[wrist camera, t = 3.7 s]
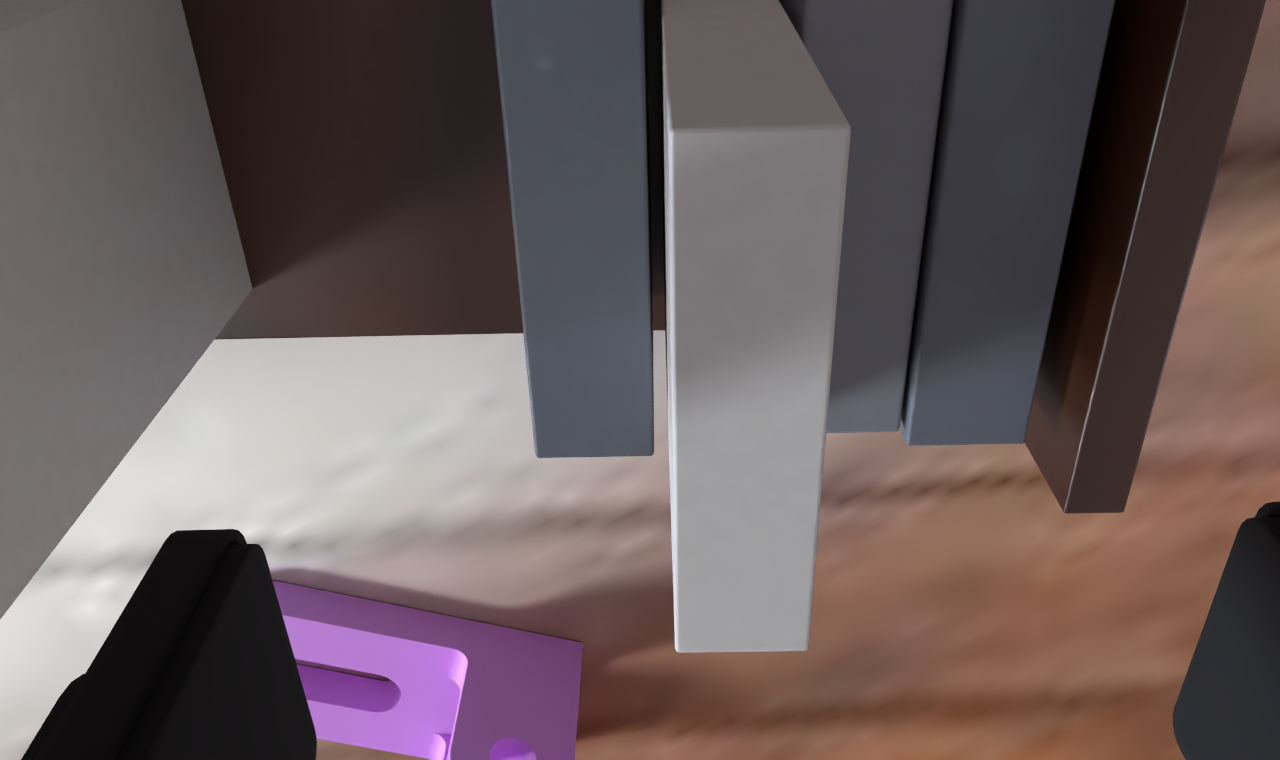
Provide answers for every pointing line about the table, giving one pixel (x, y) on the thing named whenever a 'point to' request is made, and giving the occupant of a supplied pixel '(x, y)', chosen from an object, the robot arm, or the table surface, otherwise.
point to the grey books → (873, 214)
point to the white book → (747, 316)
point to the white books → (99, 251)
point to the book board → (481, 207)
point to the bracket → (432, 680)
